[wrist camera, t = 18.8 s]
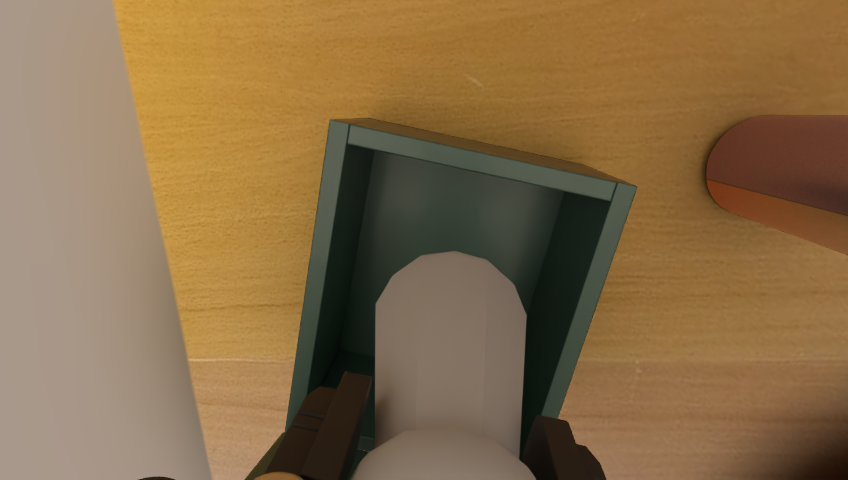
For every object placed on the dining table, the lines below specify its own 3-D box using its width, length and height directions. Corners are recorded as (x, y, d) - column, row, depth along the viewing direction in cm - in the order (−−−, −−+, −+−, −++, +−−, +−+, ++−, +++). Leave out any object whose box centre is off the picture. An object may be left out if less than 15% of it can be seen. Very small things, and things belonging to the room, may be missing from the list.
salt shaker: (358, 302, 20) (192, 614, 8) (444, 207, 19) (416, 401, 6) (455, 382, 21) (452, 788, 8) (546, 298, 19) (706, 634, 7)
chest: (368, 117, 28) (329, 119, 20) (583, 164, 28) (638, 186, 20) (329, 350, 33) (284, 433, 25) (514, 392, 33) (533, 489, 24)
